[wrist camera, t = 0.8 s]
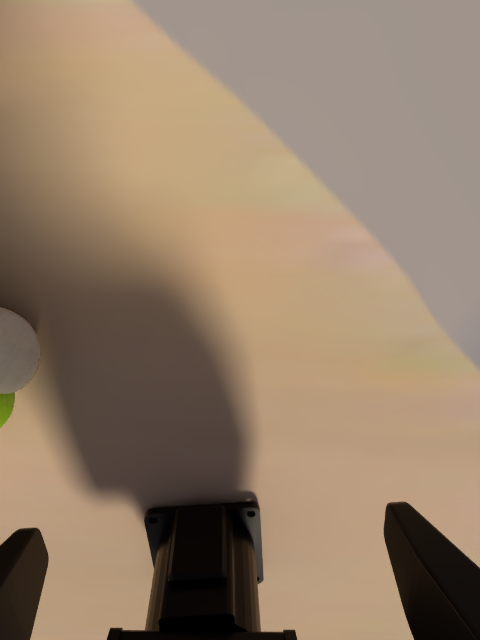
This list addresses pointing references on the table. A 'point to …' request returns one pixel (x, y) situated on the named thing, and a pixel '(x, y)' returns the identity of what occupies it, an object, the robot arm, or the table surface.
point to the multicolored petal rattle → (15, 358)
